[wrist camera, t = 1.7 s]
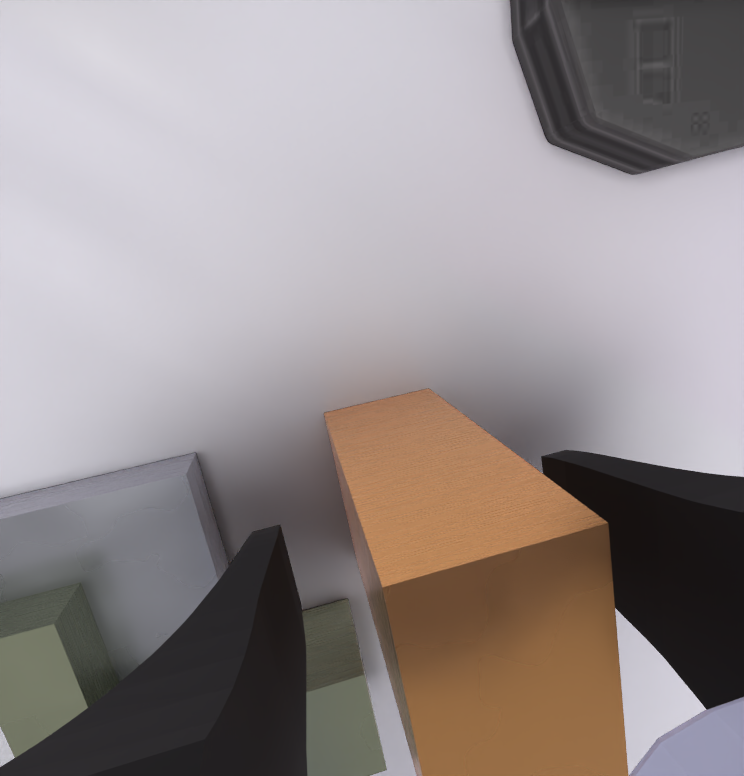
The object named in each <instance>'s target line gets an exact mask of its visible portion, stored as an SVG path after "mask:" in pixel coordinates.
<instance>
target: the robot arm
mask: <svg viewBox="0 0 744 776" xmlns="http://www.w3.org/2000/svg"><path fill="white" fill-rule="evenodd" d="M541 458H542V467H543V474H544V475H545V476H546V477H548V478H549V479H550V480H552V481H553V482H554V483H556V484H557V485H558V486H560V487H561V488H562V489H564V490H565V491H566V492H568V493H569V494H570V495H572V496H573V497H574V498H576V499H577V500H578V501H580V502H581V503H582V504H584V505H585V506H586V507H588V508H589V509H590V510H592V511H593V512H594V513H596V514H597V515H598V516H600V517H601V518H602V519H604V520H605V521H606V522H608V527H609V539H610V552H611V565H612V577H613V590H614V602H615V608H616V609H617V610H618V611H619V612H620V613H621V614H622V615H623V616H624V617H625V618H626V619H627V620H628V621H629V622H630V623H631V624H632V625H633V626H634V627H635V628H636V629H637V630H638V631H639V632H640V633H641V634H642V635H643V636H644V637H645V638H646V639H647V640H648V641H649V642H650V643H651V644H652V645H653V646H654V647H655V648H656V650H657V651H658V652H659V653H660V654H661V655H662V656H663V657H664V658H665V659H666V661H667V662H668V663H669V664H670V665H671V667H672V668H673V669H674V670H675V671H676V673H677V674H678V675H679V676H680V677H681V679H682V680H683V681H684V682H685V684H686V685H687V686H688V687H689V688H690V690H691V691H692V692H693V693H694V694H695V696H696V697H697V698H698V699H699V700H700V702H701V703H702V704H703V706H704V707H705V708H706V709H707V710H705V711H703V712H701V713H700V714H698V715H696V716H695V717H693V718H691V719H690V720H688V721H686V722H685V723H683V724H681V725H679V726H678V727H676V728H674V729H673V730H671V731H669V732H668V733H666V734H664V735H663V736H661V737H659V738H658V739H657V740H656V741H655V743H654V744H653V745H652V747H651V748H650V749H649V751H648V752H647V753H646V754H645V756H644V757H643V758H642V760H641V761H640V762H639V763H638V765H637V766H636V767H635V769H634V770H633V771H632V773H631V774H630V775H629V776H744V477H736V476H725V475H717V474H709V473H702V472H695V471H688V470H682V469H675V468H669V467H663V466H658V465H652V464H647V463H642V462H636V461H631V460H626V459H621V458H616V457H611V456H605V455H600V454H594V453H588V452H581V451H571V450H564V451H560V452H557V453H553V454H549V455H545V456H541ZM0 776H307V752H306V640H305V631H304V623H303V615H302V608H301V602H300V598H299V594H298V591H297V587H296V583H295V579H294V575H293V571H292V568H291V564H290V560H289V556H288V552H287V548H286V545H285V541H284V537H283V533H282V529H281V525H277V526H273V527H269V528H266V529H262V530H258V531H254V532H252V533H251V535H250V536H249V538H248V539H247V540H246V542H245V543H244V545H243V546H242V548H241V549H240V551H239V552H238V554H237V555H236V557H235V558H234V559H233V561H232V562H231V564H230V565H229V567H228V568H227V569H226V571H225V572H224V574H223V575H222V576H221V578H220V579H219V581H218V582H217V583H216V584H215V586H214V587H213V588H212V589H211V591H210V592H209V593H208V594H207V595H206V597H205V598H204V599H203V600H202V602H201V603H200V604H199V605H198V607H197V608H196V609H195V610H194V612H193V613H192V614H191V615H190V616H189V617H188V618H187V619H186V621H185V622H184V623H183V624H182V625H181V626H180V627H179V628H178V629H177V630H176V631H175V632H174V633H173V634H172V635H171V636H170V637H169V638H168V639H167V640H166V641H165V642H164V643H163V644H162V645H161V646H160V647H159V648H158V649H157V650H156V651H155V652H154V653H153V654H152V655H151V656H150V657H149V658H147V659H146V660H145V661H144V662H143V663H142V664H140V665H139V666H138V667H137V668H136V669H135V670H134V671H132V672H131V673H130V674H129V675H128V676H127V677H125V678H124V679H123V680H122V681H121V682H120V683H118V684H117V685H116V686H115V687H114V688H113V689H111V690H110V691H109V692H108V693H106V694H105V695H104V696H103V697H101V698H100V699H99V700H97V701H96V702H95V703H93V704H92V705H91V706H90V707H88V708H87V709H86V710H84V711H83V712H82V713H80V714H79V715H78V716H76V717H75V718H73V719H72V720H71V721H69V722H68V723H66V724H65V725H64V726H62V727H61V728H59V729H58V730H57V731H55V732H54V733H52V734H51V735H49V736H48V737H46V738H45V739H44V740H42V741H41V742H39V743H38V744H36V745H35V746H33V747H32V748H30V749H28V750H27V751H25V752H24V753H22V754H21V755H19V756H17V757H16V758H14V759H13V760H11V761H9V762H8V763H6V764H5V765H3V766H2V767H0Z"/></svg>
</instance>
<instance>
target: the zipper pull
mask: <svg viewBox="0 0 744 776" xmlns="http://www.w3.org/2000/svg"><path fill="white" fill-rule="evenodd" d="M511 14H512V33H513V43H514V46H515V49H516V52H517V55H518V58H519V61H520V63H521V66H522V69H523V72H524V75H525V78H526V81H527V84H528V87H529V90H530V92H531V95H532V98H533V101H534V104H535V107H536V110H537V113H538V116H539V119H540V121H541V124H542V127H543V130H544V133H545V136H546V138H547V140H548V142H550V143H552V144H554V145H556V146H559V147H562V148H564V149H567V150H569V151H572V152H575V153H577V154H580V155H583V156H585V157H588V158H590V159H593V160H596V161H598V162H601V163H604V164H606V165H609V166H611V167H614V168H617V169H619V170H622V171H625V172H627V173H629V174H632V175H633V174H640V173H644V172H647V171H651V170H655V169H659V168H662V167H666V166H670V165H674V164H677V163H681V162H685V161H689V160H692V159H696V158H700V157H703V156H707V155H711V154H715V153H718V152H722V151H726V150H730V149H734V148H738V147H742V146H744V0H511Z"/></svg>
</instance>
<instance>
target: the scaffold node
mask: <svg viewBox="0 0 744 776" xmlns="http://www.w3.org/2000/svg"><path fill="white" fill-rule="evenodd" d="M228 567H229V563H228V560H227V557H226V553H225V550H224V547H223V543H222V540H221V536H220V533H219V530H218V526H217V523H216V519H215V516H214V513H213V509H212V506H211V503H210V499H209V496H208V492H207V489H206V486H205V482H204V479H203V476H202V472H201V469H200V465H199V462H198V459H197V455H196V453H193V454H188V455H184V456H180V457H176V458H171V459H167V460H163V461H159V462H155V463H150V464H146V465H142V466H138V467H134V468H129V469H125V470H121V471H117V472H112V473H108V474H104V475H100V476H96V477H91V478H87V479H83V480H79V481H74V482H70V483H66V484H62V485H58V486H53V487H49V488H45V489H41V490H36V491H32V492H28V493H24V494H20V495H15V496H11V497H7V498H3V499H0V727H1V729H2V731H3V733H4V735H5V737H6V739H7V742H8V744H9V746H10V748H11V750H12V752H13V754H14V757H15V758H16V757H17V756H19V755H21V754H22V753H24V752H25V751H27V750H28V749H30V748H32V747H33V746H35V745H36V744H38V743H39V742H41V741H42V740H44V739H45V738H46V737H48V736H49V735H51V734H52V733H54V732H55V731H57V730H58V729H59V728H61V727H62V726H64V725H65V724H66V723H68V722H69V721H71V720H72V719H73V718H75V717H76V716H78V715H79V714H80V713H82V712H83V711H84V710H86V709H87V708H88V707H90V706H91V705H92V704H93V703H95V702H96V701H97V700H99V699H100V698H101V697H103V696H104V695H105V694H106V693H108V692H109V691H110V690H111V689H113V688H114V687H115V686H116V685H117V684H118V683H120V682H121V681H122V680H123V679H124V678H125V677H127V676H128V675H129V674H130V673H131V672H132V671H134V670H135V669H136V668H137V667H138V666H139V665H140V664H142V663H143V662H144V661H145V660H146V659H147V658H149V657H150V656H151V655H152V654H153V653H154V652H155V651H156V650H157V649H158V648H159V647H160V646H161V645H162V644H163V643H164V642H165V641H166V640H167V639H168V638H169V637H170V636H171V635H172V634H173V633H174V632H175V631H176V630H177V629H178V628H179V627H180V626H181V625H182V624H183V623H184V622H185V621H186V619H187V618H188V617H189V616H190V615H191V614H192V613H193V612H194V610H195V609H196V608H197V607H198V605H199V604H200V603H201V602H202V600H203V599H204V598H205V597H206V595H207V594H208V593H209V592H210V591H211V589H212V588H213V587H214V586H215V584H216V583H217V582H218V581H219V579H220V578H221V576H222V575H223V574H224V572H225V571H226V569H227V568H228ZM302 615H303V623H304V631H305V640H306V752H307V776H370V775H373V774H376V773H379V772H382V771H385V770H387V769H386V764H385V760H384V755H383V751H382V746H381V742H380V737H379V733H378V728H377V723H376V719H375V714H374V710H373V705H372V701H371V696H370V692H369V687H368V683H367V678H366V674H365V670H364V666H363V661H362V657H361V653H360V648H359V644H358V640H357V636H356V631H355V627H354V623H353V618H352V614H351V610H350V605H349V601H348V598H347V599H344V600H340V601H337V602H333V603H330V604H326V605H323V606H319V607H316V608H312V609H309V610H305V611H302Z"/></svg>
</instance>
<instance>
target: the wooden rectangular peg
mask: <svg viewBox="0 0 744 776" xmlns="http://www.w3.org/2000/svg"><path fill="white" fill-rule="evenodd" d="M324 416H325V421H326V425H327V430H328V434H329V439H330V443H331V448H332V452H333V457H334V461H335V466H336V470H337V475H338V479H339V484H340V488H341V493H342V497H343V502H344V506H345V511H346V515H347V520H348V524H349V529H350V533H351V537H352V542H353V546H354V551H355V555H356V559H357V563H358V566H359V570H360V574H361V577H362V581H363V584H364V588H365V592H366V595H367V599H368V602H369V606H370V609H371V613H372V617H373V620H374V624H375V627H376V631H377V635H378V638H379V642H380V645H381V649H382V652H383V656H384V660H385V663H386V667H387V670H388V674H389V678H390V681H391V685H392V688H393V692H394V695H395V699H396V703H397V706H398V710H399V713H400V717H401V721H402V724H403V728H404V731H405V735H406V738H407V742H408V746H409V749H410V753H411V756H412V760H413V764H414V767H415V771H416V774H417V776H628V766H627V753H626V740H625V728H624V715H623V703H622V690H621V678H620V665H619V653H618V640H617V627H616V615H615V602H614V590H613V577H612V565H611V552H610V539H609V527H608V522H606V521H605V520H604V519H602V518H601V517H600V516H598V515H597V514H596V513H594V512H593V511H592V510H590V509H589V508H588V507H586V506H585V505H584V504H582V503H581V502H580V501H578V500H577V499H576V498H574V497H573V496H572V495H570V494H569V493H568V492H566V491H565V490H564V489H562V488H561V487H560V486H558V485H557V484H556V483H554V482H553V481H552V480H550V479H549V478H548V477H546V476H545V475H544V474H542V473H541V472H540V471H538V470H537V469H536V468H534V467H533V466H532V465H530V464H529V463H528V462H526V461H525V460H524V459H522V458H521V457H520V456H518V455H517V454H516V453H514V452H513V451H512V450H510V449H509V448H508V447H506V446H505V445H504V444H502V443H501V442H500V441H498V440H497V439H496V438H494V437H493V436H492V435H490V434H489V433H488V432H486V431H485V430H484V429H482V428H481V427H480V426H478V425H477V424H476V423H474V422H473V421H472V420H470V419H469V418H468V417H466V416H465V415H464V414H462V413H461V412H460V411H458V410H457V409H456V408H454V407H453V406H452V405H450V404H449V403H448V402H446V401H445V400H444V399H442V398H441V397H440V396H438V395H437V394H436V393H434V392H433V391H432V390H430V389H429V388H428V389H424V390H419V391H415V392H411V393H407V394H402V395H398V396H394V397H390V398H385V399H381V400H377V401H373V402H368V403H364V404H360V405H355V406H351V407H347V408H343V409H338V410H334V411H330V412H326V413H324Z"/></svg>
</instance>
